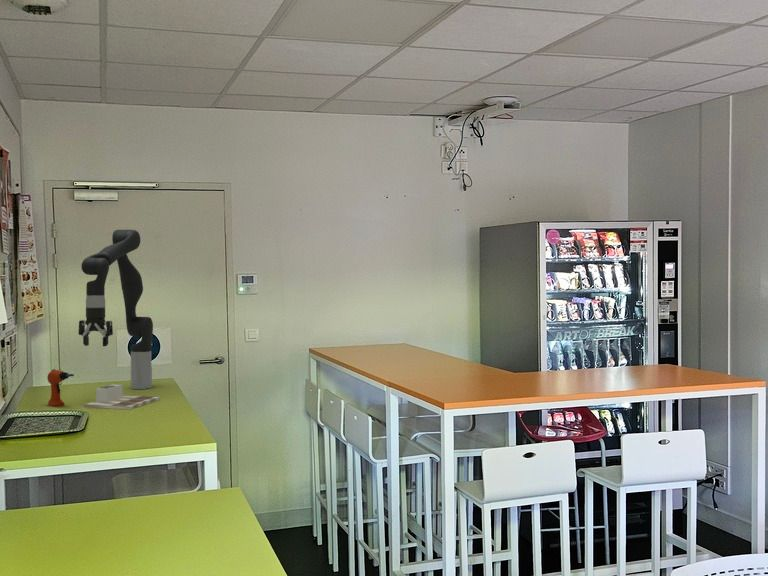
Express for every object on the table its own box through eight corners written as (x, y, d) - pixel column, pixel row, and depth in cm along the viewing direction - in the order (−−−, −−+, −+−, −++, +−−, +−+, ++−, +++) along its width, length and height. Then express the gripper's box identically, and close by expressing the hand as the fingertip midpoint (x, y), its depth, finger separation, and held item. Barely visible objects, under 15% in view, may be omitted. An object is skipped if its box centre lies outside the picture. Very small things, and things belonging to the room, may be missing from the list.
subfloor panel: (116, 397, 333) (116, 394, 333) (159, 399, 329) (159, 396, 329) (84, 407, 309) (84, 404, 309) (129, 409, 305) (129, 406, 305)
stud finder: (112, 397, 327) (112, 384, 326) (122, 397, 326) (122, 384, 325) (96, 402, 315) (96, 388, 315) (107, 402, 314) (107, 388, 314)
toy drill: (69, 406, 303) (66, 368, 304) (45, 407, 315) (43, 370, 315) (81, 404, 306) (78, 367, 307) (57, 405, 318) (54, 369, 319)
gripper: (116, 306, 320) (116, 345, 320) (85, 305, 323) (85, 344, 323) (105, 307, 313) (106, 347, 313) (74, 306, 316) (74, 346, 316)
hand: (95, 345), depth 318 cm, fingers open, 8 cm apart
